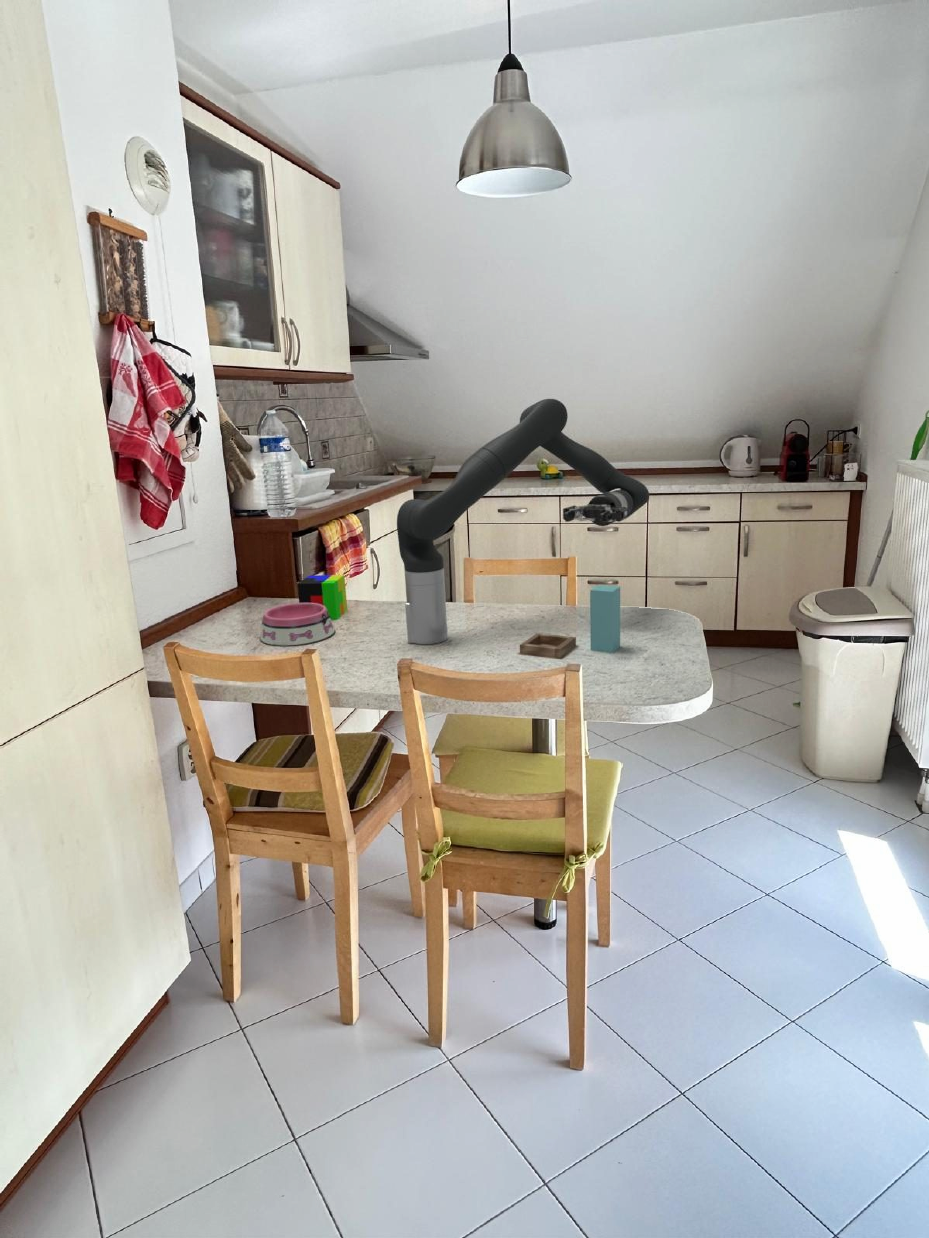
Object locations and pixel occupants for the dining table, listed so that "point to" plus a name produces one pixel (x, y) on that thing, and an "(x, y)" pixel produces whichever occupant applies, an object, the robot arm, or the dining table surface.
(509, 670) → the dining table surface
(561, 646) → the square wooden tray
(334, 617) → the puzzle toy
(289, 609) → the dog bowl
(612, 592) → the block
